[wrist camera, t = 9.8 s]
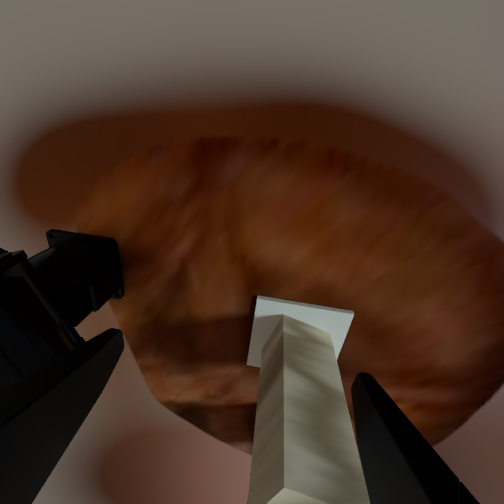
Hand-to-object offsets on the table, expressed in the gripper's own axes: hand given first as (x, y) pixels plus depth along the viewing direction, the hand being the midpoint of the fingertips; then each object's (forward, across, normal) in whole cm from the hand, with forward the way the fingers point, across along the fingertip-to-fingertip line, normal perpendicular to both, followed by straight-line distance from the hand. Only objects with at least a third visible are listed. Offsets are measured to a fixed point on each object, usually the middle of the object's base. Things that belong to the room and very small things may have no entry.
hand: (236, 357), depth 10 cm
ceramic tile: (+13, -5, +11) cm, 18 cm away
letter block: (+12, -5, +11) cm, 17 cm away
